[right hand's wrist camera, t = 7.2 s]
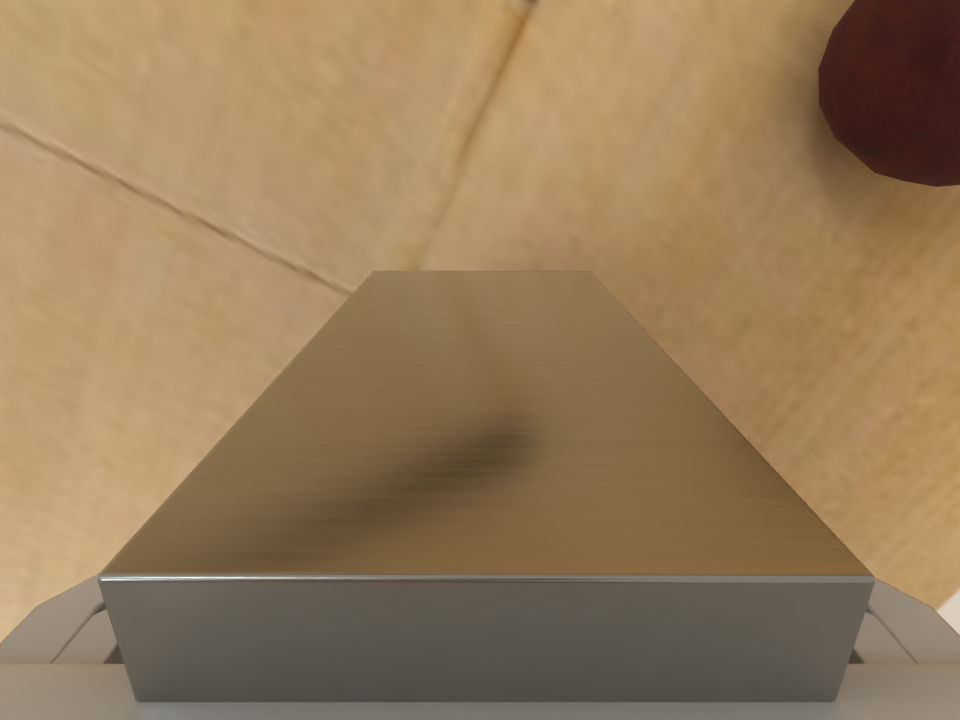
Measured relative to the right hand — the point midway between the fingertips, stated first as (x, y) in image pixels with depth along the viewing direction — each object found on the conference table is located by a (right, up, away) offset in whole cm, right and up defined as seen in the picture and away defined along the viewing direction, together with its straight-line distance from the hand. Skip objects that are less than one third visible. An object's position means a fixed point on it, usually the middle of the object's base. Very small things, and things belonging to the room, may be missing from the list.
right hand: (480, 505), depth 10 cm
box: (0, -5, +9) cm, 11 cm away
